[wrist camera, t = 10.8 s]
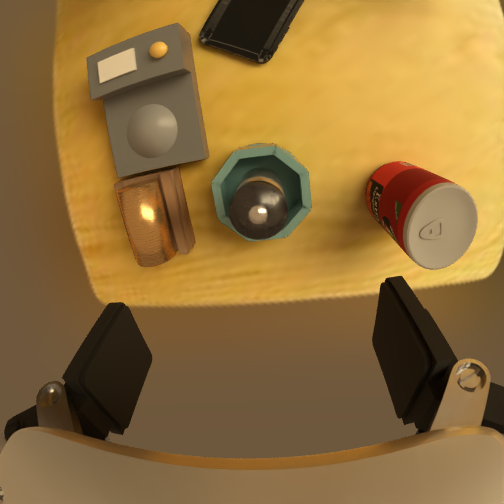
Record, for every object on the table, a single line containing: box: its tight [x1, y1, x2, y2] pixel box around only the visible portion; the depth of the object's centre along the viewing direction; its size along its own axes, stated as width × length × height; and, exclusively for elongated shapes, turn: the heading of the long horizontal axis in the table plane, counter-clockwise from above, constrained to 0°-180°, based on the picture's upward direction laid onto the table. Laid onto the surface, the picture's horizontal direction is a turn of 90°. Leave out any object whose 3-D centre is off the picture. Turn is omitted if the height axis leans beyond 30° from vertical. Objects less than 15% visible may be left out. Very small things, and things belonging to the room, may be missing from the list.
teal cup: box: [211, 143, 312, 242], centre depth 27 cm, size 9×9×4 cm
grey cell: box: [229, 167, 288, 240], centre depth 25 cm, size 4×4×9 cm
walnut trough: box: [114, 167, 195, 259], centre depth 30 cm, size 9×7×3 cm
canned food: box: [366, 161, 478, 270], centre depth 24 cm, size 8×8×11 cm
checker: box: [87, 23, 209, 178], centre depth 23 cm, size 14×10×5 cm
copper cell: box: [116, 179, 176, 267], centre depth 28 cm, size 9×4×4 cm, turn 8°
